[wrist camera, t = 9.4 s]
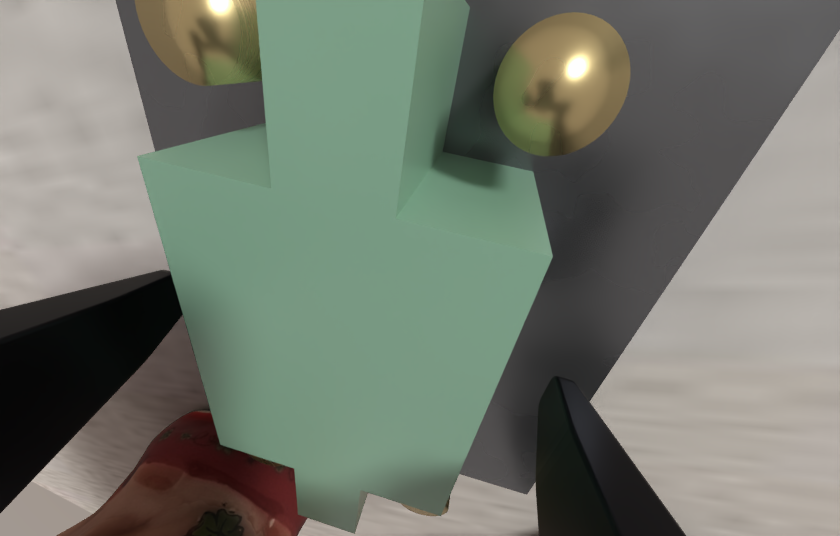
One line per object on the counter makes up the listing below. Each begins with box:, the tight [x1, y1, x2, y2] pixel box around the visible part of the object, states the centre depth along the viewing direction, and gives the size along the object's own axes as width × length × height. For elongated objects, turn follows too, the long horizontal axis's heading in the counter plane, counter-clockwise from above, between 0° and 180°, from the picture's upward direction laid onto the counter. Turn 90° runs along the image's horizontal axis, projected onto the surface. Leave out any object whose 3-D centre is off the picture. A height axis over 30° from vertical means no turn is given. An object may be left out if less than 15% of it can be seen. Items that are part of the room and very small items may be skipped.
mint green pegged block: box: [137, 0, 553, 534], centre depth 8 cm, size 6×13×4 cm, turn 171°
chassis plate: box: [116, 0, 840, 516], centre depth 9 cm, size 14×18×4 cm
